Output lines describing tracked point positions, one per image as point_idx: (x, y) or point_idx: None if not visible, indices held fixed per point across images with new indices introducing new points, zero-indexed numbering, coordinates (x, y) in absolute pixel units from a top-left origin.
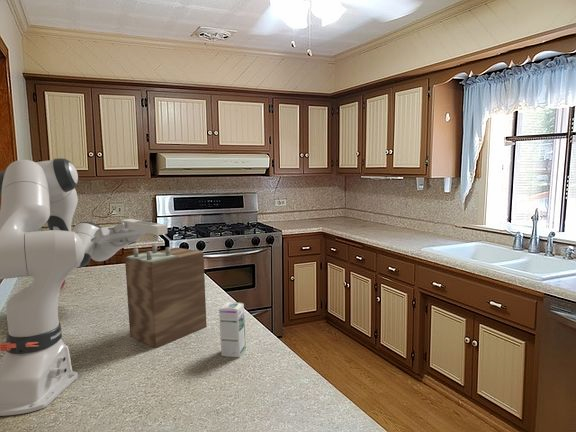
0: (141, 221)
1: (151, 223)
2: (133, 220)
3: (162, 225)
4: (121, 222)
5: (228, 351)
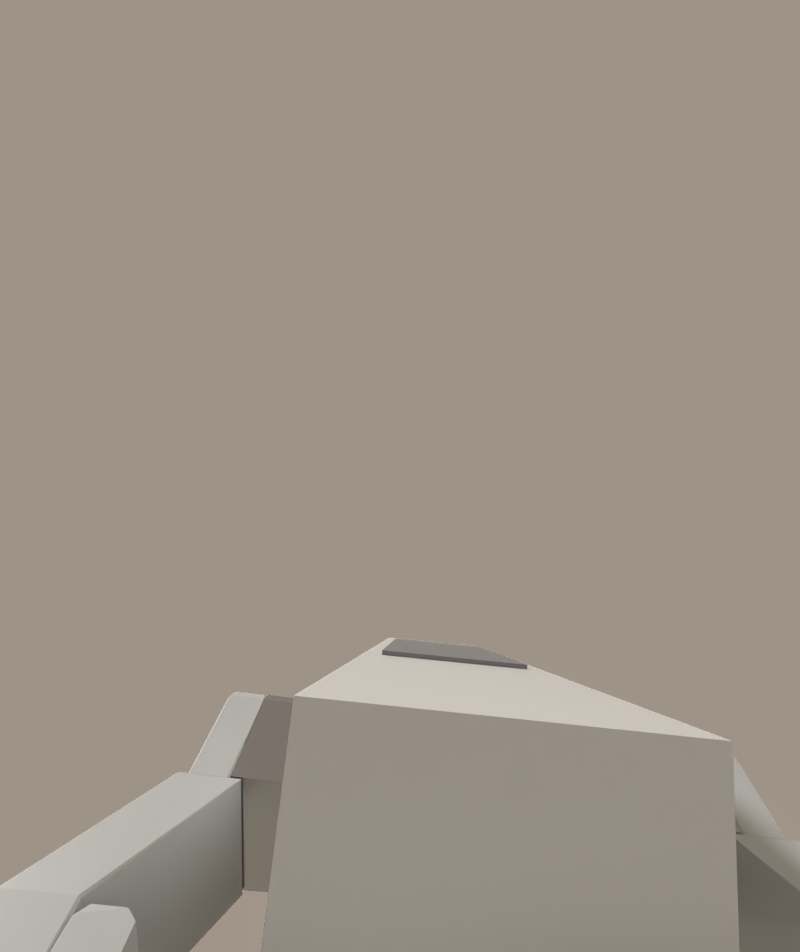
0: (431, 652)
1: (435, 644)
2: (447, 674)
3: (426, 641)
4: (719, 840)
5: None
